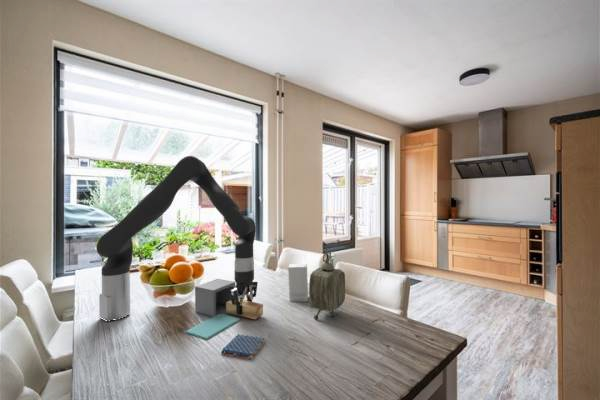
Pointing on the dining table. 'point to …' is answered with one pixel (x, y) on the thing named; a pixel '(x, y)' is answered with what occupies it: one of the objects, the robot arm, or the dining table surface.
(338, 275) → the tabletop clock
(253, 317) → the oak plank
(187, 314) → the dining table surface
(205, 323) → the teal mat
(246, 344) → the woven mat
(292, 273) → the skincare box
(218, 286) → the cubby shelf
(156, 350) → the dining table surface
